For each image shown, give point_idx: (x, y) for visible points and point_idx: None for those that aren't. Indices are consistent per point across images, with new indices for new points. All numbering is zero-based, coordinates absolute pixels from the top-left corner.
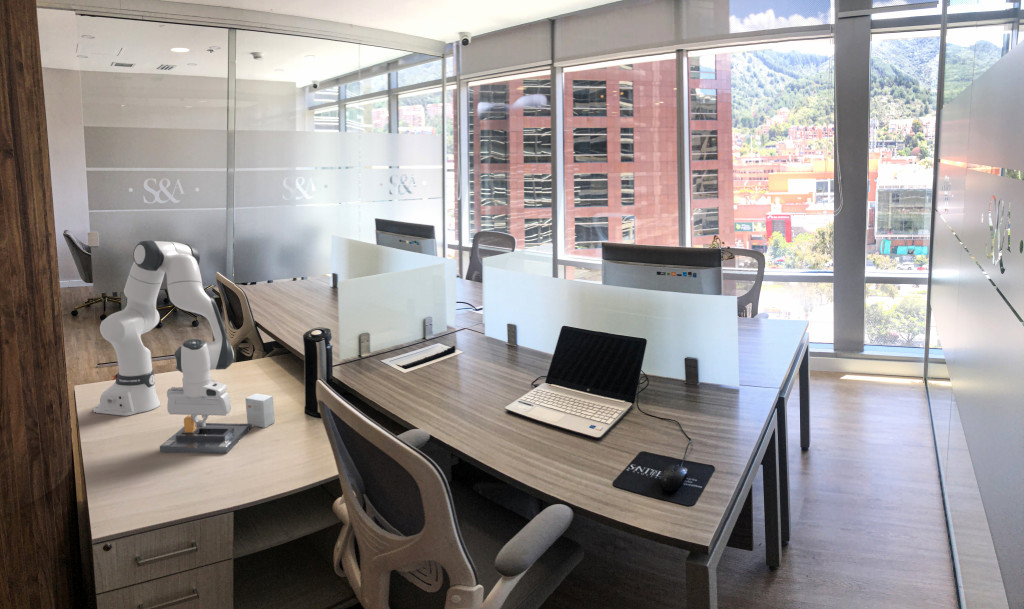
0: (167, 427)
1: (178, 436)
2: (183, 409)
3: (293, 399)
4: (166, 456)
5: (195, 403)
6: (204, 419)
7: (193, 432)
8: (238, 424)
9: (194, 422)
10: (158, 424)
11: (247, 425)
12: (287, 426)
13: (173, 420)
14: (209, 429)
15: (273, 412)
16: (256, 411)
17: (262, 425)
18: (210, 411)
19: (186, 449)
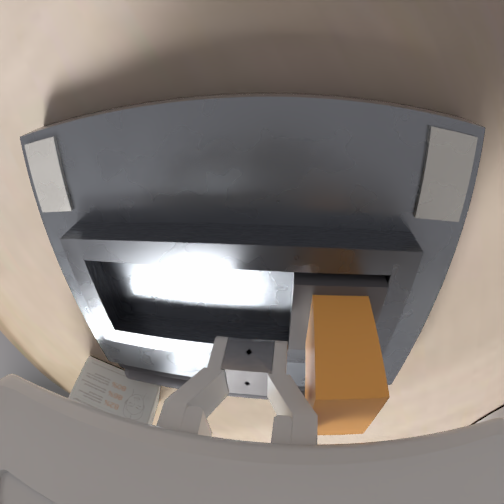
0: (454, 370)
1: (402, 246)
2: (392, 497)
3: None
4: (399, 40)
5: None
6: (186, 389)
7: (299, 292)
8: (170, 383)
9: (307, 378)
10: (476, 379)
11: (136, 373)
12: (49, 351)
13: (434, 402)
14: None
15: None
16: None
17: (94, 365)
18: (76, 441)
19: (281, 95)
